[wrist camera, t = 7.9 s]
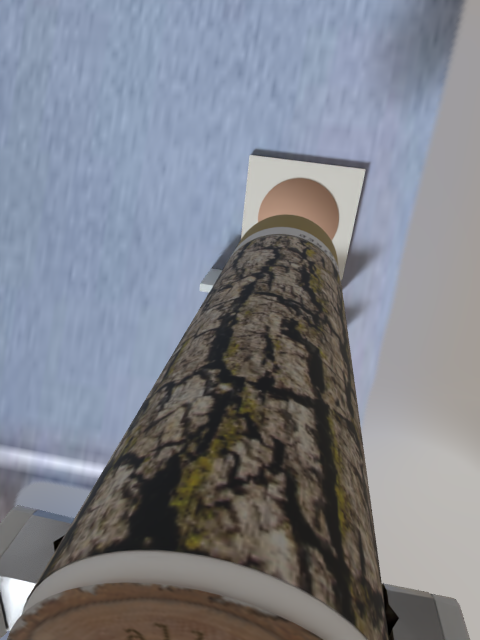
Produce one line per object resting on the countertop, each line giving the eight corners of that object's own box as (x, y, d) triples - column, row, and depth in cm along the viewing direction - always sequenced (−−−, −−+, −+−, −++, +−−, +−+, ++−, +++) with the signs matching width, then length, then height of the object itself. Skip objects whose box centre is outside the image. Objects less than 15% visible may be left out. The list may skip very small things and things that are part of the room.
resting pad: (250, 154, 43) (249, 155, 42) (365, 168, 42) (365, 169, 41) (239, 262, 48) (238, 264, 47) (341, 278, 47) (342, 280, 46)
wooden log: (283, 189, 28) (142, 508, 6) (359, 260, 29) (499, 762, 7) (216, 264, 31) (-54, 675, 8) (288, 326, 32) (220, 833, 10)
